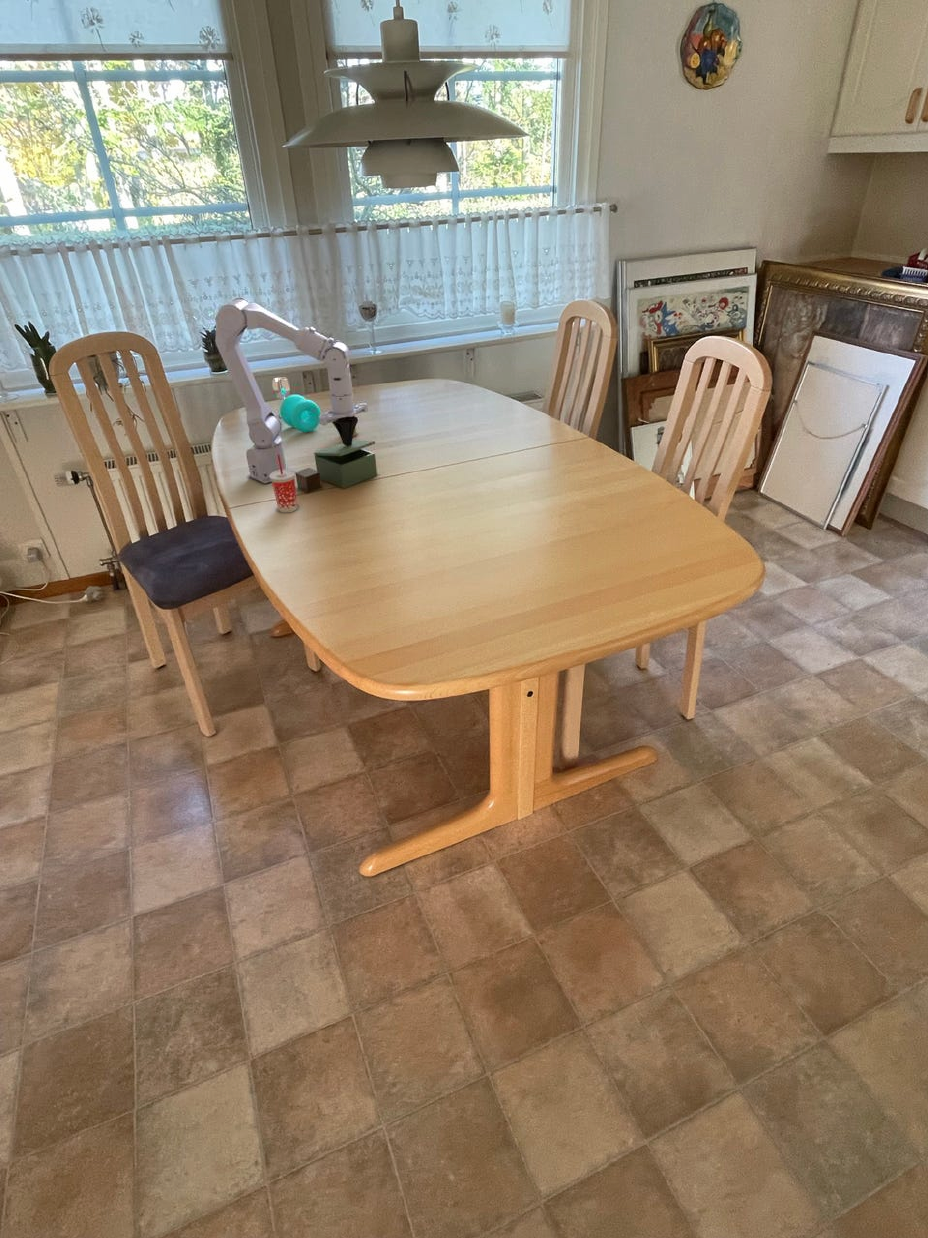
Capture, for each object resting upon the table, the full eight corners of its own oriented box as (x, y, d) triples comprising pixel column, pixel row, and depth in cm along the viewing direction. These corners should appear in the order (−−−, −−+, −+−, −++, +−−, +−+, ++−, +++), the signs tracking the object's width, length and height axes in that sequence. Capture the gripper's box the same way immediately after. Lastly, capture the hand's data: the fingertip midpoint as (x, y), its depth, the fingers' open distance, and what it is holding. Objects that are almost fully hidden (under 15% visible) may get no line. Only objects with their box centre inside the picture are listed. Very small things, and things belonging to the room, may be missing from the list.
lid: (375, 443, 183) (374, 440, 183) (340, 456, 177) (340, 453, 176) (348, 443, 192) (348, 440, 191) (314, 455, 185) (313, 452, 184)
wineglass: (276, 414, 233) (270, 377, 226) (293, 412, 234) (288, 375, 227) (278, 419, 228) (271, 382, 221) (295, 417, 230) (289, 380, 223)
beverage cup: (305, 508, 173) (296, 454, 165) (283, 516, 169) (273, 461, 161) (292, 500, 176) (283, 447, 168) (270, 508, 173) (260, 454, 165)
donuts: (296, 436, 215) (291, 404, 209) (281, 428, 221) (275, 397, 215) (324, 429, 220) (320, 397, 214) (309, 421, 226) (304, 390, 220)
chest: (377, 475, 189) (375, 453, 185) (343, 488, 182) (340, 466, 178) (351, 464, 195) (348, 443, 192) (317, 477, 188) (314, 455, 185)
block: (307, 492, 180) (305, 477, 178) (297, 488, 183) (295, 472, 180) (321, 487, 183) (319, 471, 180) (311, 483, 185) (309, 467, 183)
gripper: (328, 403, 171) (335, 455, 178) (373, 389, 179) (378, 440, 187) (311, 397, 175) (318, 449, 182) (355, 384, 183) (361, 434, 191)
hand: (347, 444), depth 185 cm, fingers closed
